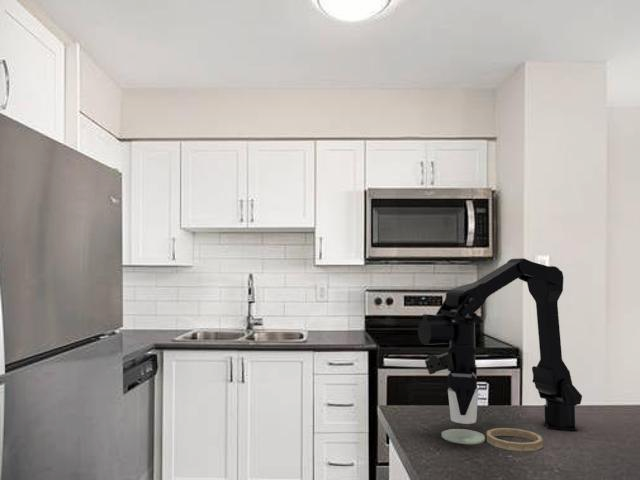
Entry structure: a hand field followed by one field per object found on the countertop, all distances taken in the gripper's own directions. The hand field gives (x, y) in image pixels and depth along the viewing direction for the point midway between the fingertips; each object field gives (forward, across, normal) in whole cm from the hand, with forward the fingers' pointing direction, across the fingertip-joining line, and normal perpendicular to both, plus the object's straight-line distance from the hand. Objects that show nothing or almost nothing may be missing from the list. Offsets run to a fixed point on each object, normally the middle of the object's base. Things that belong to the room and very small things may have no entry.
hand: (463, 411), depth 120 cm
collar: (+6, 0, +11) cm, 12 cm away
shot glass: (+2, 0, 0) cm, 2 cm away
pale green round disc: (+6, 0, 0) cm, 6 cm away
